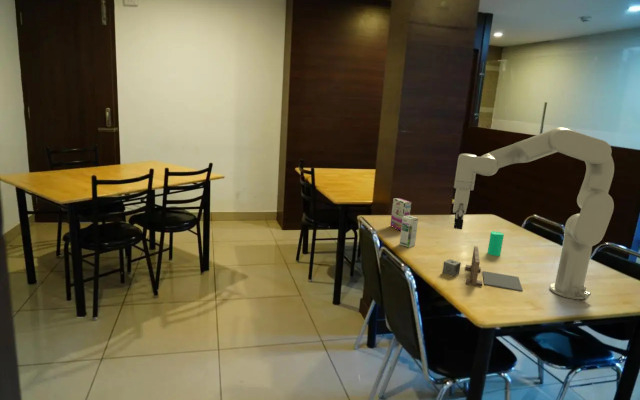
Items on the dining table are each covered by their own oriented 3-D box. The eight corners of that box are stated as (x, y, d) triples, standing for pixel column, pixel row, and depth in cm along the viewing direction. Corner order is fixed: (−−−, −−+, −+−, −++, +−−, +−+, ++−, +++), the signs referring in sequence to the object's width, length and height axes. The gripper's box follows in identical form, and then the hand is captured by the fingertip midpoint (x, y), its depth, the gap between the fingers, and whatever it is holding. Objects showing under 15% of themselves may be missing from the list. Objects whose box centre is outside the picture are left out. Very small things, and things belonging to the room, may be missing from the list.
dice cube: (459, 273, 179) (460, 262, 178) (453, 276, 175) (454, 265, 174) (448, 270, 182) (449, 259, 181) (442, 272, 179) (443, 261, 178)
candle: (501, 256, 203) (505, 232, 200) (488, 254, 204) (492, 231, 201) (499, 252, 209) (503, 228, 206) (486, 250, 210) (490, 227, 207)
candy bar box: (408, 231, 234) (412, 202, 230) (401, 232, 232) (404, 202, 228) (397, 225, 244) (400, 197, 240) (389, 226, 241) (392, 198, 238)
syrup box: (398, 244, 211) (402, 216, 207) (405, 242, 215) (408, 214, 211) (408, 247, 207) (411, 219, 203) (415, 245, 211) (418, 217, 208)
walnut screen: (465, 266, 187) (468, 245, 184) (479, 269, 185) (483, 247, 183) (465, 284, 168) (469, 260, 166) (482, 287, 166) (485, 263, 164)
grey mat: (518, 278, 178) (518, 276, 178) (522, 291, 165) (522, 290, 165) (482, 272, 182) (482, 271, 182) (484, 284, 169) (484, 283, 169)
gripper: (454, 180, 180) (449, 219, 184) (453, 187, 164) (447, 229, 168) (473, 182, 177) (467, 221, 181) (474, 190, 161) (467, 232, 165)
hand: (457, 225), depth 174 cm, fingers open, 9 cm apart
